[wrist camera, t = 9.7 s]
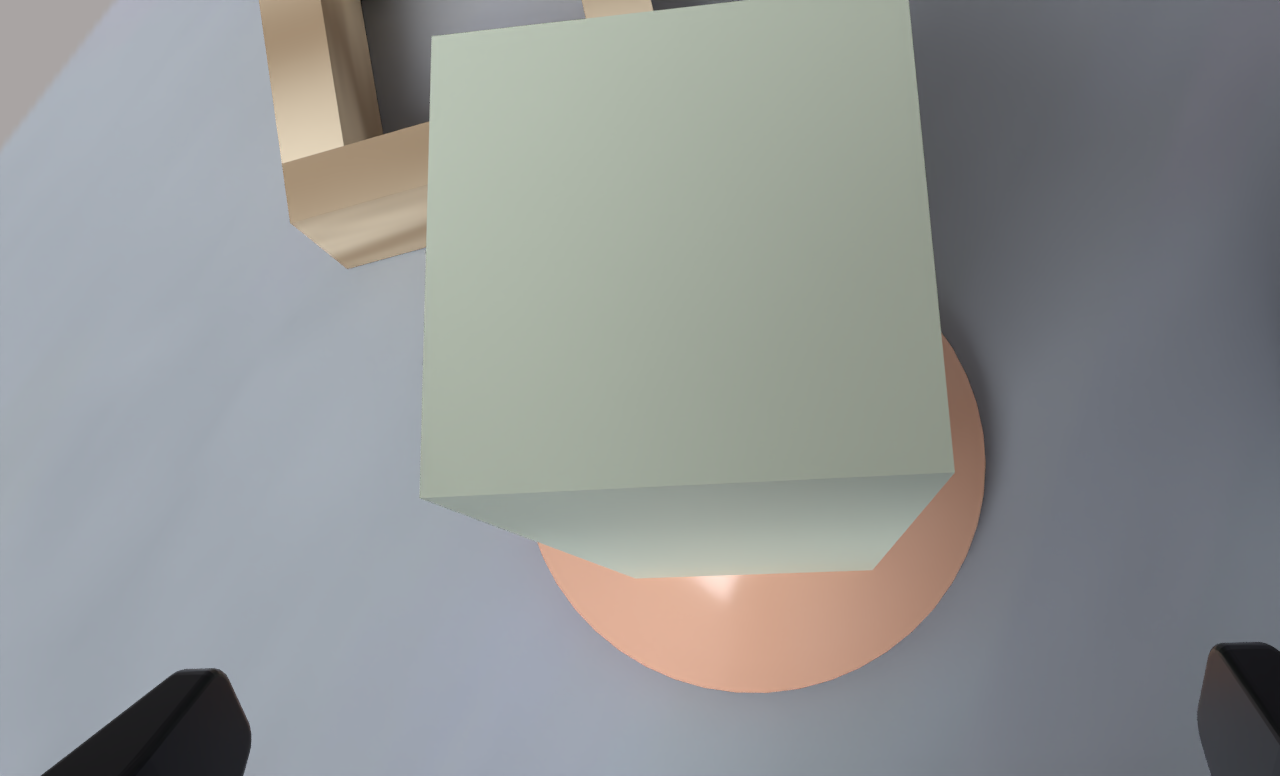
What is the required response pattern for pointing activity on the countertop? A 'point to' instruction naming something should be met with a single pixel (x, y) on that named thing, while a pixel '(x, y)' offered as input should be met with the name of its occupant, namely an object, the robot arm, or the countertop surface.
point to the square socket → (350, 132)
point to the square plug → (685, 288)
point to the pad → (792, 592)
